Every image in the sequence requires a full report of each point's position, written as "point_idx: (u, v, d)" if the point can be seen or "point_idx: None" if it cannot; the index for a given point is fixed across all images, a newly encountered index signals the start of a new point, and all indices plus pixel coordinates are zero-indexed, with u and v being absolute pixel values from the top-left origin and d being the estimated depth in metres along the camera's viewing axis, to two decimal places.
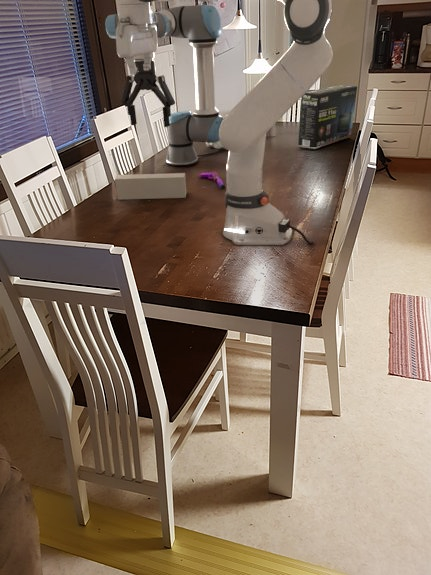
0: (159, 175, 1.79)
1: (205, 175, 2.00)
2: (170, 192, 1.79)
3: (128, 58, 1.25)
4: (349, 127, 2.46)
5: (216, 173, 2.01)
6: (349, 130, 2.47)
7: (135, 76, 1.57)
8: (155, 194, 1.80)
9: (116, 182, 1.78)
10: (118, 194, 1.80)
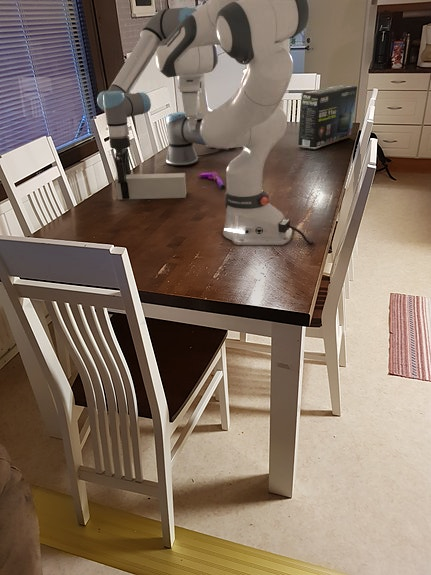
0: (159, 175, 1.79)
1: (205, 175, 2.00)
2: (170, 192, 1.79)
3: None
4: (349, 127, 2.46)
5: (216, 173, 2.01)
6: (349, 130, 2.47)
7: None
8: (155, 194, 1.80)
9: (116, 182, 1.78)
10: (118, 194, 1.80)
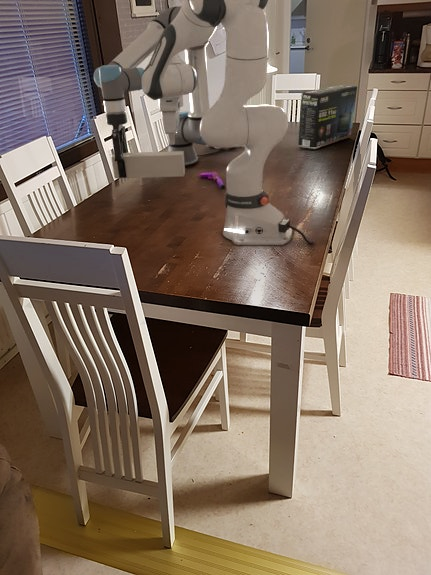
0: (157, 153, 1.74)
1: (205, 175, 2.00)
2: (168, 171, 1.75)
3: None
4: (349, 127, 2.46)
5: (216, 173, 2.01)
6: (349, 130, 2.47)
7: None
8: (153, 173, 1.75)
9: (113, 160, 1.73)
10: (115, 173, 1.76)
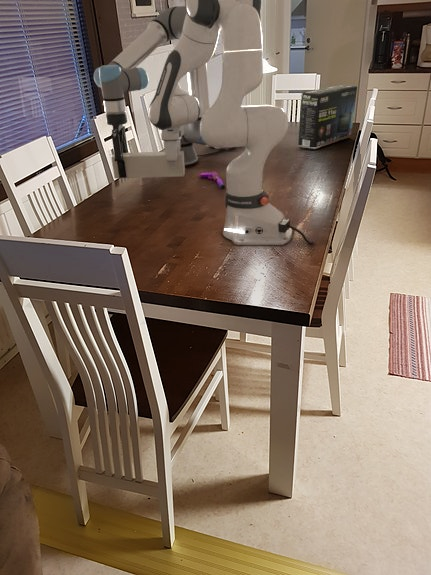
0: (157, 153, 1.74)
1: (205, 175, 2.00)
2: (168, 171, 1.75)
3: None
4: (349, 127, 2.46)
5: (216, 173, 2.01)
6: (349, 130, 2.47)
7: None
8: (153, 173, 1.75)
9: (113, 160, 1.73)
10: (115, 173, 1.76)
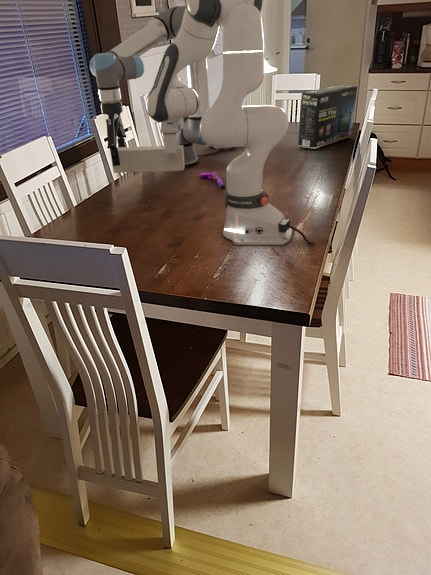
0: (156, 147, 1.73)
1: (205, 175, 2.00)
2: (167, 165, 1.73)
3: None
4: (349, 127, 2.46)
5: (216, 173, 2.01)
6: (349, 130, 2.47)
7: None
8: (153, 167, 1.74)
9: None
10: (114, 167, 1.74)
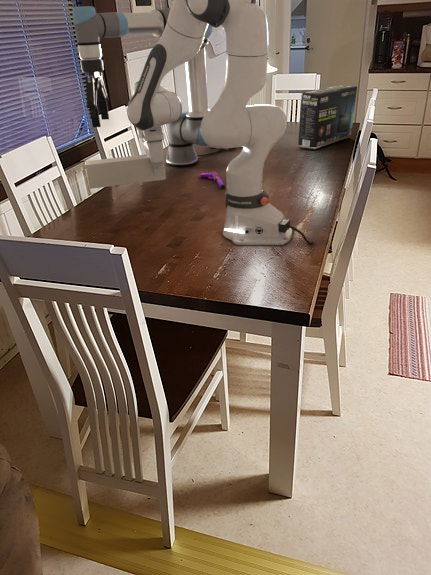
0: (134, 157, 1.61)
1: (205, 175, 2.00)
2: (149, 175, 1.62)
3: None
4: (349, 127, 2.46)
5: (216, 173, 2.01)
6: (349, 130, 2.47)
7: None
8: (133, 179, 1.61)
9: (87, 169, 1.55)
10: (90, 182, 1.58)
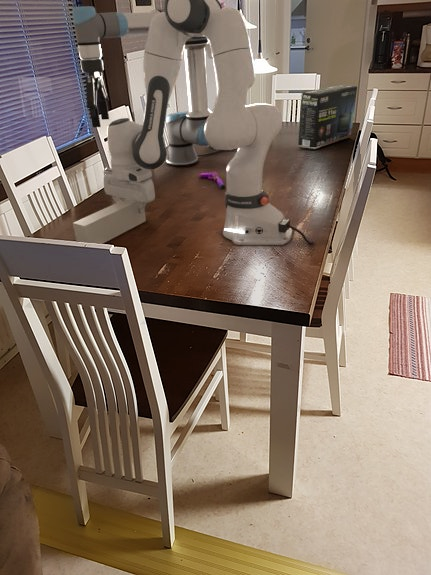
0: (116, 206, 1.52)
1: (205, 175, 2.00)
2: (134, 220, 1.56)
3: None
4: (349, 127, 2.46)
5: (216, 173, 2.01)
6: (349, 130, 2.47)
7: None
8: (122, 228, 1.52)
9: (86, 229, 1.39)
10: None
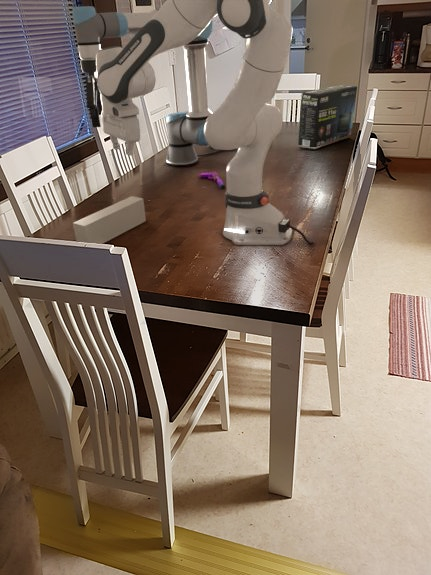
0: (116, 206, 1.52)
1: (205, 175, 2.00)
2: (134, 220, 1.56)
3: None
4: (349, 127, 2.46)
5: (216, 173, 2.01)
6: (349, 130, 2.47)
7: None
8: (122, 228, 1.52)
9: (86, 229, 1.39)
10: None
